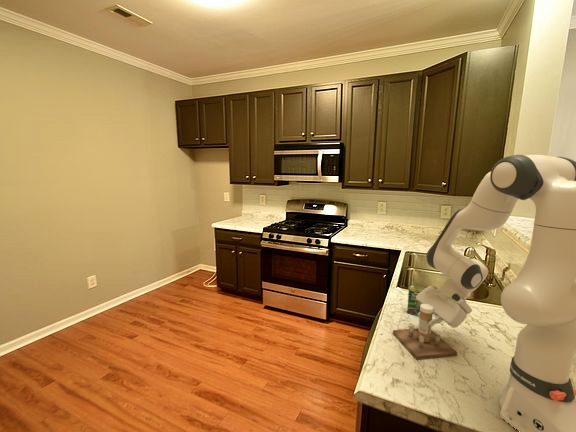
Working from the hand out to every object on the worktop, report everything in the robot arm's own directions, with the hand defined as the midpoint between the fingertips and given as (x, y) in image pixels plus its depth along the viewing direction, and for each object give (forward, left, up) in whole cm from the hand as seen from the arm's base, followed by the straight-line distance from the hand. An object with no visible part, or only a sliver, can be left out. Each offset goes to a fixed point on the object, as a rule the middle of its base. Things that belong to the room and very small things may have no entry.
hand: (424, 320), depth 106 cm
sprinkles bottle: (0, -1, -8) cm, 8 cm away
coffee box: (+21, -12, -10) cm, 26 cm away
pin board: (0, -1, -10) cm, 10 cm away
